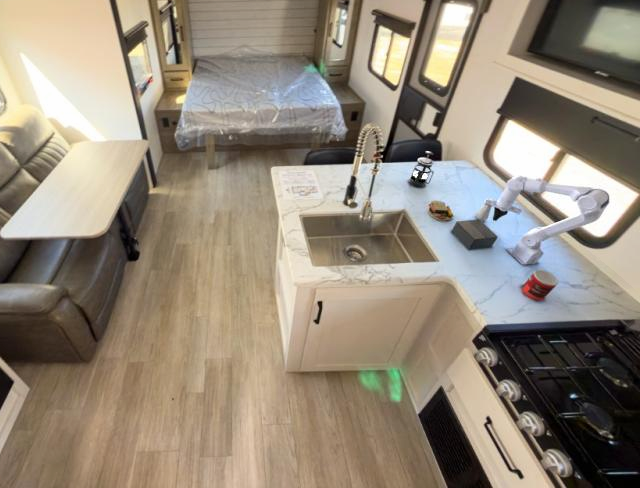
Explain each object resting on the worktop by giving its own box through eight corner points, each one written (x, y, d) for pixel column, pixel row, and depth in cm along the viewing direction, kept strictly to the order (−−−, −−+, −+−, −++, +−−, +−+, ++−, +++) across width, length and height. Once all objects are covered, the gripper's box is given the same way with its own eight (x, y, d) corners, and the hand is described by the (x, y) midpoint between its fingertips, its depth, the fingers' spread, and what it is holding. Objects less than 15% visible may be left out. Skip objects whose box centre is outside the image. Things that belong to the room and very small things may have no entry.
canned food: (533, 285, 141) (547, 269, 134) (548, 301, 134) (563, 284, 128) (516, 285, 140) (529, 269, 134) (530, 301, 134) (545, 285, 127)
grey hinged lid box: (491, 246, 159) (498, 236, 155) (468, 249, 158) (474, 239, 154) (473, 229, 170) (478, 219, 165) (451, 231, 168) (456, 221, 164)
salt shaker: (487, 223, 173) (499, 204, 166) (476, 221, 174) (487, 203, 167) (483, 216, 178) (494, 197, 170) (472, 214, 179) (482, 196, 171)
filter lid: (485, 238, 155) (486, 237, 154) (474, 239, 154) (474, 239, 154) (467, 220, 165) (467, 220, 165) (456, 221, 164) (456, 221, 164)
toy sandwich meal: (430, 220, 176) (433, 213, 173) (424, 205, 186) (427, 198, 183) (455, 223, 173) (458, 216, 171) (448, 207, 184) (451, 201, 181)
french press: (405, 183, 204) (417, 152, 191) (411, 177, 210) (422, 146, 196) (424, 190, 198) (438, 159, 184) (429, 184, 203) (443, 153, 189)
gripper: (489, 198, 153) (477, 219, 161) (527, 207, 146) (512, 229, 154) (489, 190, 157) (477, 211, 165) (525, 199, 151) (511, 220, 159)
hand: (494, 219), depth 160 cm, fingers closed
